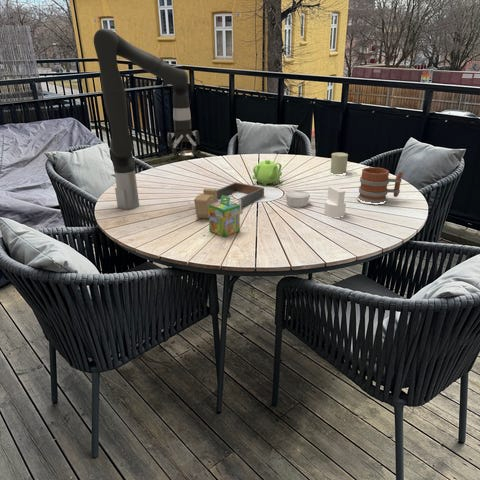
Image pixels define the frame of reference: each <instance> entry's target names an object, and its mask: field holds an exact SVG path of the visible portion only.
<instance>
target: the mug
mask: <svg viewBox="0 0 480 480" xmlns="http://www.w3.org/2000/svg"><path fill="white" fill-rule="evenodd" d="M389 175H390V171H389V170H388V169H386V168H382V167H372V166H368V167H364V168H362V169H361V176H360V179H359V182H360V186H359V188H358V192H359V195H357V197H358V198H359V199H360V200H362V201H365V202H371V203H380V202H384V201H386V200H387V201H388V199H386V198H387V195H388V194H389V193H392V194H393V197H395V198H397V197H398V196H399V194H400V193H401V192H400V191H401V190H400V187H401V183H402V180H403V179H402V176H403V171H398V174H397V175H396V177H395V178H389ZM389 183H394V186H393V187H394V188H392V189H391V188H388V185H389Z"/></svg>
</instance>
